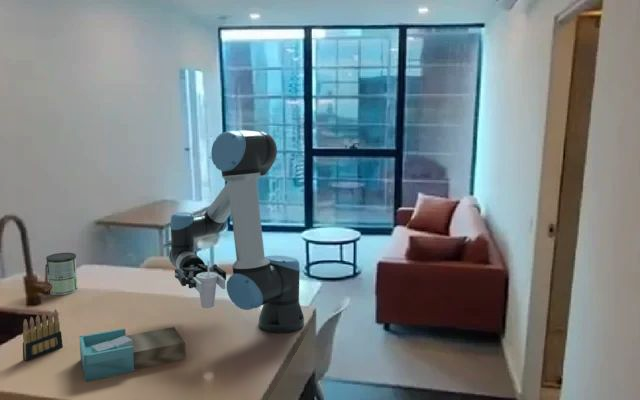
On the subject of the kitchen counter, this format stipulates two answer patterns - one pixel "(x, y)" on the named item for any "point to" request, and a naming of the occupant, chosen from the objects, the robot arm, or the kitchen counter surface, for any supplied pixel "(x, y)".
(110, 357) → the tray
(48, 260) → the coffee can
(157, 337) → the olive-brown boxy piece
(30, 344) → the ammunition clip
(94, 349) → the chip
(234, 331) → the kitchen counter surface
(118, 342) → the chip
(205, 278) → the smoothie
